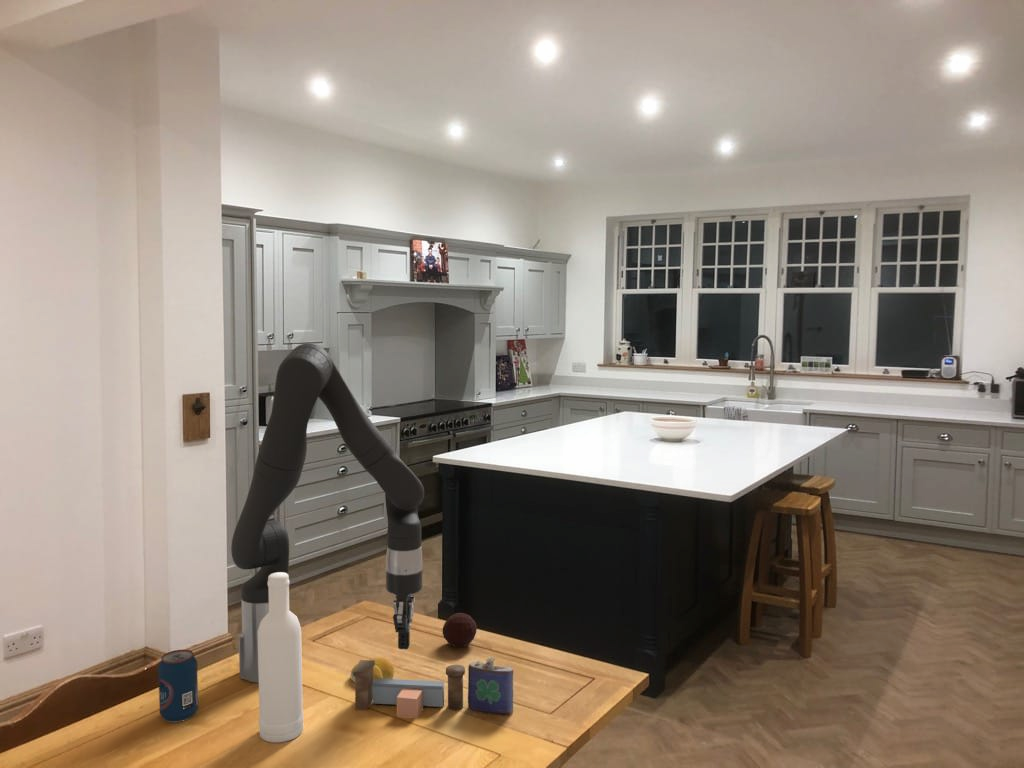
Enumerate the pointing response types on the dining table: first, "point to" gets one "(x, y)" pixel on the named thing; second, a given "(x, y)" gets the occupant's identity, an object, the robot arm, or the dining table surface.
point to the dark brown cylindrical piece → (455, 686)
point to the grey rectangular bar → (390, 688)
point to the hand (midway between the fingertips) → (403, 647)
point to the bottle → (280, 666)
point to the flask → (490, 688)
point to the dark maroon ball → (459, 630)
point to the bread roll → (379, 669)
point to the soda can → (178, 685)
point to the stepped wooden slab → (363, 684)
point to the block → (409, 703)
